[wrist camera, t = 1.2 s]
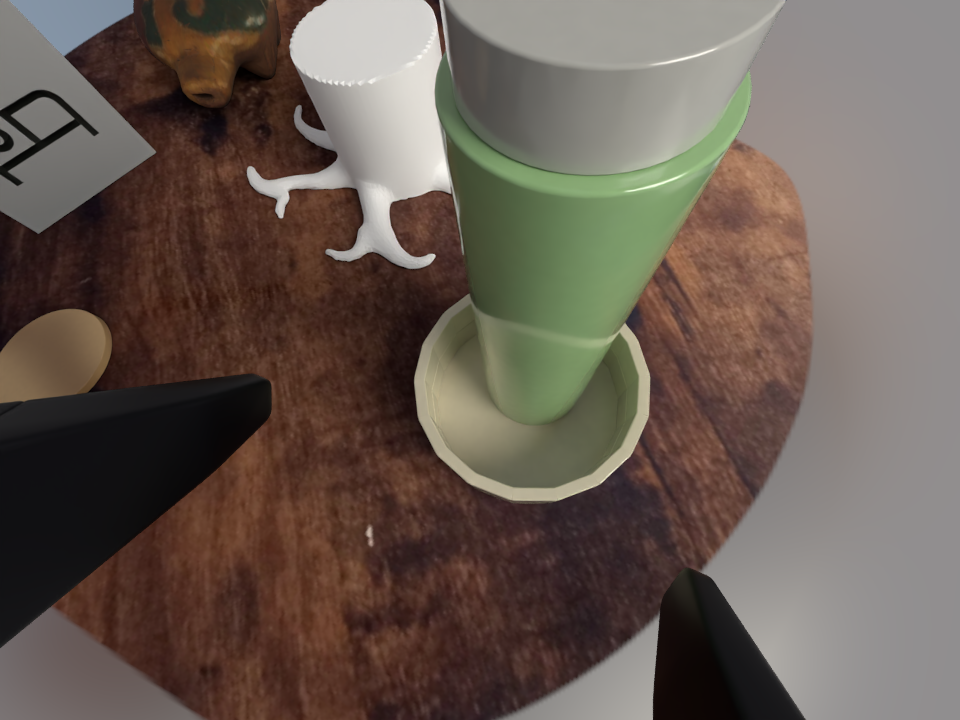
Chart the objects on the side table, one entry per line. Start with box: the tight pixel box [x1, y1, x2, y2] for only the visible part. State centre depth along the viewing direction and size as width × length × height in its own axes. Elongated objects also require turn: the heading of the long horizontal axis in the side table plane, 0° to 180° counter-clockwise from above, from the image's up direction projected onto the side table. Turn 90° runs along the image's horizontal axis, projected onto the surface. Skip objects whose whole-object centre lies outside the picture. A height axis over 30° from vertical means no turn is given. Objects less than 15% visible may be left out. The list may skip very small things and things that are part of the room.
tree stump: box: [247, 0, 451, 269], centre depth 25 cm, size 20×19×8 cm
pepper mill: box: [434, 0, 786, 426], centre depth 13 cm, size 5×5×17 cm
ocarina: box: [133, 0, 281, 108], centre depth 31 cm, size 10×15×8 cm, turn 10°
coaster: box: [0, 309, 112, 403], centre depth 25 cm, size 7×7×1 cm
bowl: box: [414, 294, 650, 504], centre depth 20 cm, size 10×10×5 cm
